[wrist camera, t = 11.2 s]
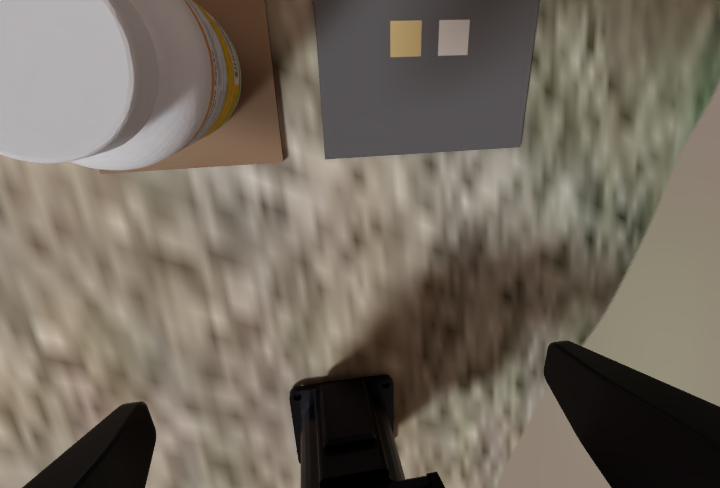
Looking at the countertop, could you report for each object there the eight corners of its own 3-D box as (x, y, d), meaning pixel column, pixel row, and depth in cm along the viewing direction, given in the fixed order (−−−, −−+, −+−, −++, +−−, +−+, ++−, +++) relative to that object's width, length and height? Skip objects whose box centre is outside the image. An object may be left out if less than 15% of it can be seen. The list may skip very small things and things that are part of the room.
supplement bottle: (83, 93, 15) (-216, 103, 6) (133, -38, 14) (-160, -261, 5) (210, 161, 17) (116, 244, 8) (265, 51, 16) (223, 4, 7)
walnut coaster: (283, 161, 18) (283, 162, 17) (103, 172, 17) (100, 173, 16) (259, -44, 15) (259, -47, 14) (36, -45, 14) (31, -48, 13)
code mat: (517, 146, 19) (520, 146, 19) (325, 158, 18) (325, 158, 18) (549, -102, 15) (553, -104, 15) (306, -108, 14) (306, -111, 14)
